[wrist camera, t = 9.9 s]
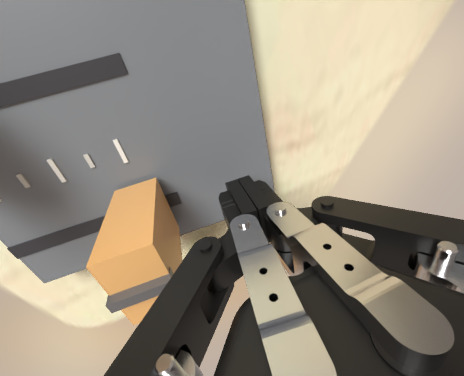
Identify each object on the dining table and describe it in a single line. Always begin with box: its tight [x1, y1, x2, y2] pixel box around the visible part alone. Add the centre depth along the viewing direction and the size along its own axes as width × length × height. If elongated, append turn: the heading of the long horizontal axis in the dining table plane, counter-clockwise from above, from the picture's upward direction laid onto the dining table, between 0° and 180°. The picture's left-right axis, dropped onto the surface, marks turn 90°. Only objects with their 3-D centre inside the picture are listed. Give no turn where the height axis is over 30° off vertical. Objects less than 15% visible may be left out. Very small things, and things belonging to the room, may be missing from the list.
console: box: [0, 0, 274, 283], centre depth 14 cm, size 17×16×2 cm
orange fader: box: [86, 178, 182, 325], centre depth 12 cm, size 3×4×6 cm, turn 14°
